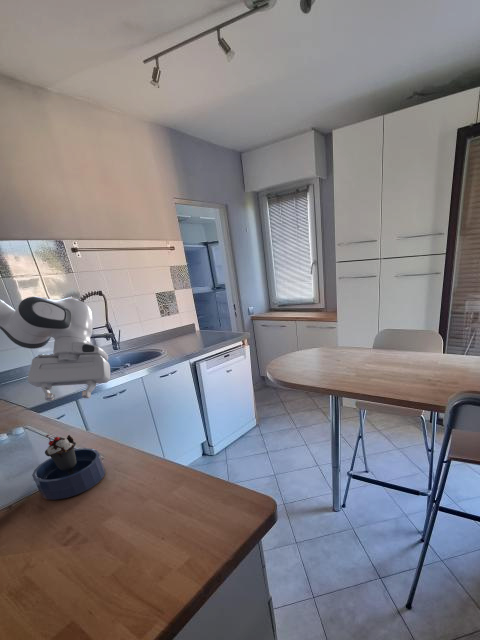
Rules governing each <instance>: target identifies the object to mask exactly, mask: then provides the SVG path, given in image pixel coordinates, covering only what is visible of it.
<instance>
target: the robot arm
mask: <svg viewBox="0 0 480 640" xmlns="http://www.w3.org/2000/svg"><path fill="white" fill-rule="evenodd" d="M93 319H94V317H93V312H92V309H91V308H90V307H89V305H88V304H86V303H85V302H84V301H82V300H80V299H77V298H73V297H72V298H71V297H66V298H63V299H48V298H45V297H41V296H28V297H26V298H24V299H22V300H21V301H20V302H19V304H18V305H17V307H16V308H15V309H14V308H13V307H11V306H10V305H9V304H7V303H6V302H5V301H4V300H2V299H0V330H1V331H2V332H3V333H4V334H5V335H6V337H7V338H8V339H9V340H10V341H11V342H13V343H14V344H15V345H17V346H19V347H22V348H25V349H29V350H30V349H32V350H33V349H34V350H35V349H40V348H42V347H45V346H46V345H47V344H48V343H49V342H50V340H51V338H53V340H54V342H53V351H52V353H47V354H44V353H43V354H42V353H41V354H38V355H36V356H35V357H33V358H32V359H31V364H30V368H29V371H28V374H27V382H28V383H29V384H30V385H32V386H34V387H36V388H41V389H42V391H43V393H44V400H45V401H47V402H50V401H51V402H52V401H54V400H55V396H56V394H54V393H53V392H51V390H52V389H53V388H52V387H57V386H58V387H59V386H61V387H62V386H75V385H76V386H77V385H88V386H87V387H86V388H85V390H82V391H81V397H82V398H83V399H91V397H92V392H93V391H94V390H95V388H96V387H97V384H107V383H108V382H109V381H110V380H111V364H110V363H109V361H108V360H109V355H108V354H107V352H105V350H104V349H103V348H102V347H100V346H98V345H95V344H92V342H91V337H92V335H93V331H94V330H93V328H94V320H93Z"/></svg>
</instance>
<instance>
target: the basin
mask: <svg viewBox="0 0 480 640" xmlns="http://www.w3.org/2000/svg"><path fill="white" fill-rule="evenodd" d="M74 450H75V455H76V462H77V463H76V465H75V467H74V468H73V472H74V474H72V475H69V474H68V472H67V471H63V470H60V469H59V468H58V467H57V465H56V464H55V462H54V461H53V459H52V458H51V457H50V458H48V459H46V460H45V461H43V462H41V463H40V464H39V465H38V466H37V467H36V468H35V469H34V470H33V471H32V474H31V477H32V479H33V481H34V483H35V485H36V487H37V489H38V491H39V494H40V495H41V497H42V498H43V499H46V500H53V501H55V500H63V499H67V498H71V497H74V496H78V495H80V494H82V493H84V492H86V491H88V490H90V489H91V488H93V487H94V486H96V485H97V484H98V483H100V481H102V480H103V478H104V477H105V475H106V468H105V465H104V462H103V459H102V456H101V454H100V452H99V451H98V450H97V449H95V448H90V447H89V448H86V447H85V448H76V449H74Z"/></svg>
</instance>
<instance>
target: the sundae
mask: <svg viewBox="0 0 480 640" xmlns="http://www.w3.org/2000/svg"><path fill="white" fill-rule="evenodd" d="M45 437H46V438H48V440H49V442H48V446H47V449H45V451H44V454H45V456H47V457H50V458H52V459H53V461H54V462H55V464H56V465H57V467H58V468H59V469H60V470H63V471H67V472H68V474H69V475H72V474H74V472H73V468H74V467H75V465H76V463H77V462H76V455H75V450H76V449H75V446H76V444H77V443H76V441H74V438H73V437H72V436H71V435H70V434H68V435H67V437H62V436H52V435H50V434H46V435H45ZM51 438H53V440H51Z"/></svg>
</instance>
